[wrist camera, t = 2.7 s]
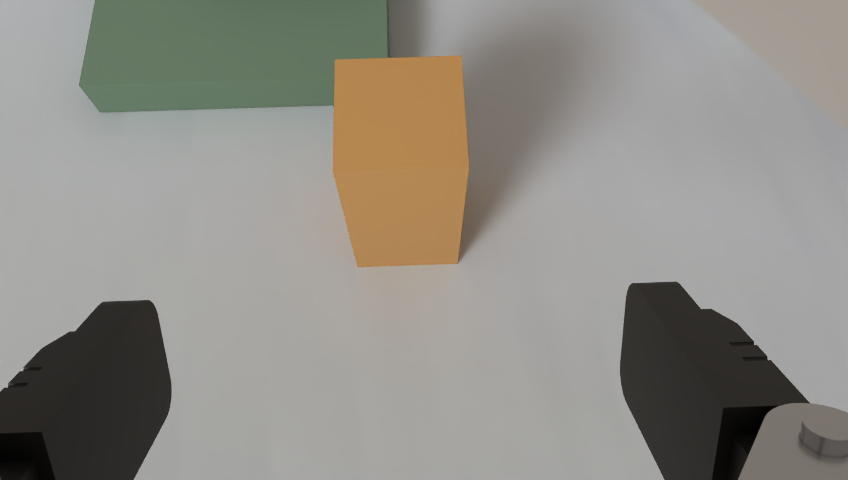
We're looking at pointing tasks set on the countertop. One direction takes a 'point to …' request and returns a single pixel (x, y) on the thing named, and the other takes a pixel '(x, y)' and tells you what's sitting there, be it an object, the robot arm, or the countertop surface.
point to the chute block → (401, 158)
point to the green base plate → (225, 51)
